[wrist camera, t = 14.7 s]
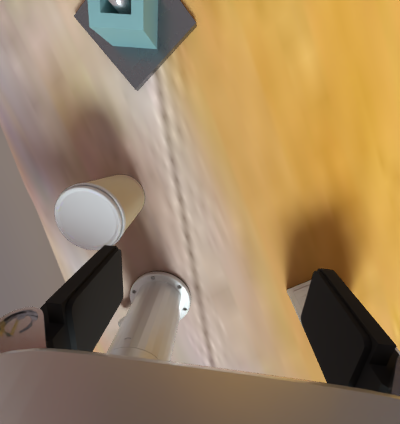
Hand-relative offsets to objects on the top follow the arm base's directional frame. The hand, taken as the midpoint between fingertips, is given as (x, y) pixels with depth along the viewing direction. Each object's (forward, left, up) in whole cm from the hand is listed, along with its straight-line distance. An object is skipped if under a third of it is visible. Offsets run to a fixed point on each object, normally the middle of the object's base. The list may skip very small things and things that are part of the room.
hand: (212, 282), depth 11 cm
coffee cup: (-15, +8, -28) cm, 33 cm away
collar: (+5, +24, -27) cm, 37 cm away
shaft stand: (+5, +24, -28) cm, 37 cm away
